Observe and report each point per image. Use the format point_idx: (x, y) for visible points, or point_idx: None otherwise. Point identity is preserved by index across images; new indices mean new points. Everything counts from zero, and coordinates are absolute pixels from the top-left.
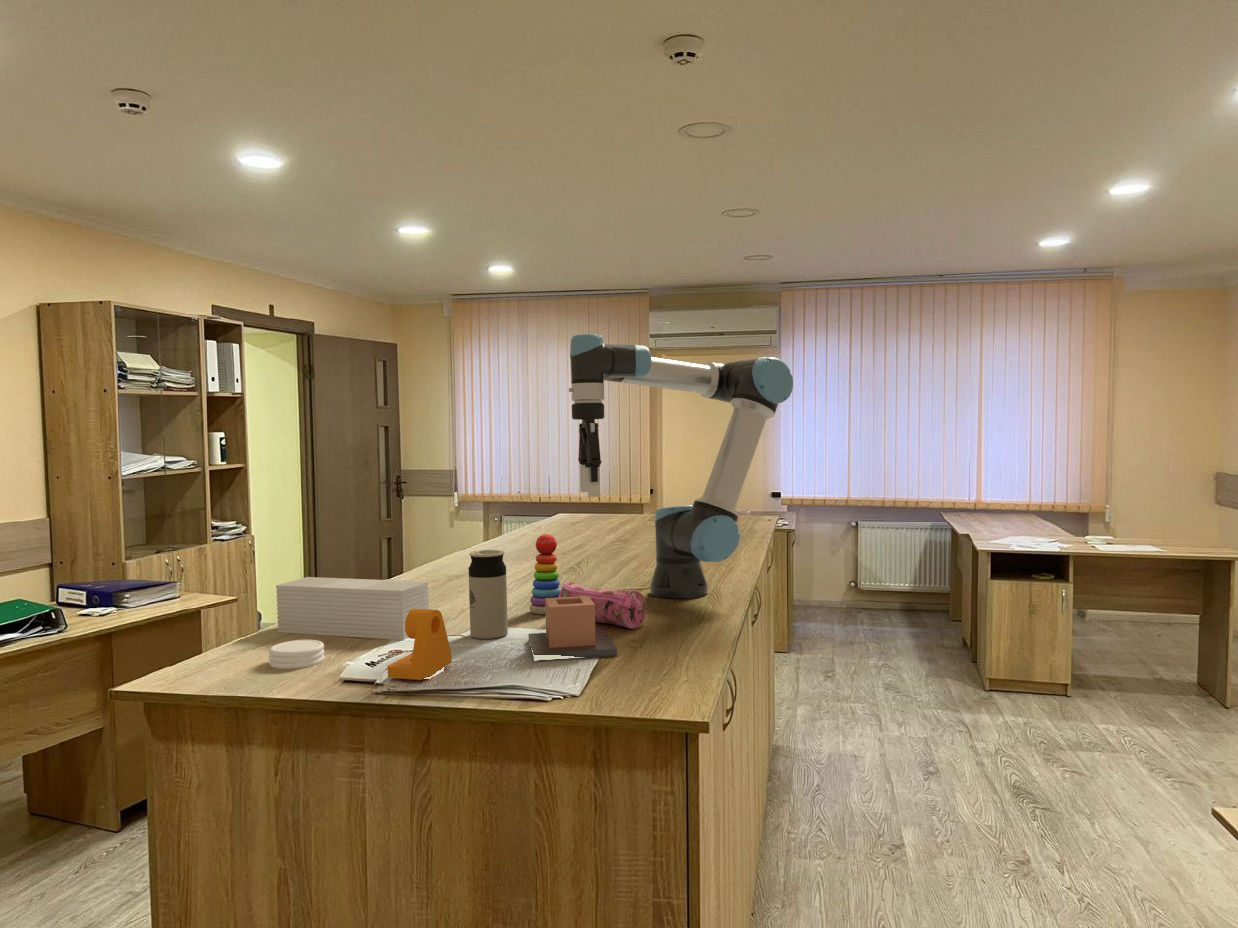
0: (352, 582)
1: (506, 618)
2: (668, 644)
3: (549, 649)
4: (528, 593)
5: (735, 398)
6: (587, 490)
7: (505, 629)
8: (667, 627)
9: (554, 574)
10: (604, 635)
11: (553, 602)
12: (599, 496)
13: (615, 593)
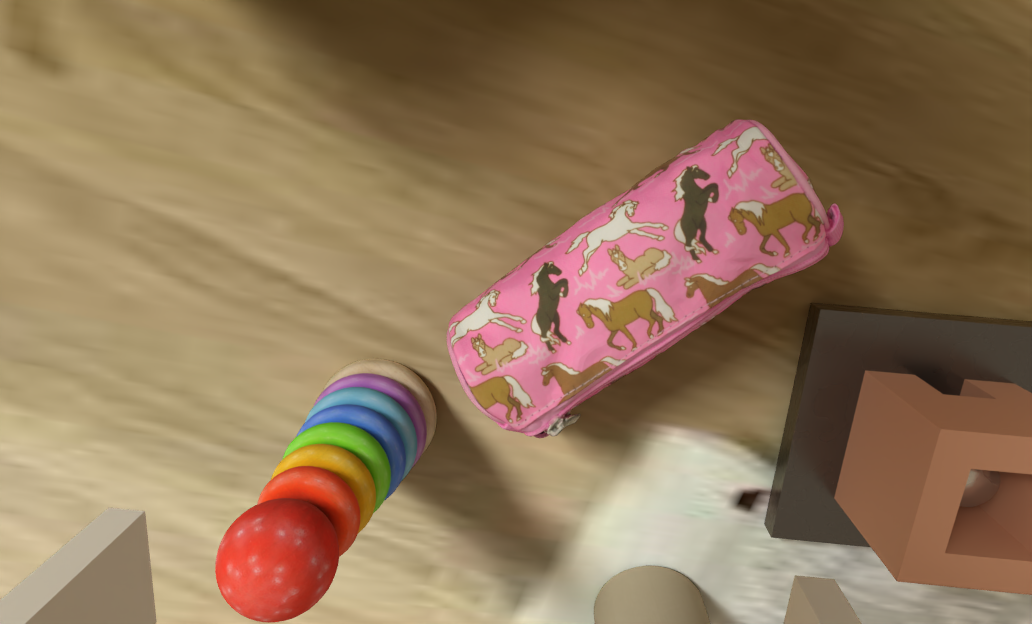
0: None
1: (685, 605)
2: (1027, 121)
3: None
4: (48, 414)
5: None
6: (134, 568)
7: (686, 586)
8: (788, 46)
9: (376, 453)
10: (909, 329)
11: (995, 570)
12: (833, 587)
13: (776, 268)
